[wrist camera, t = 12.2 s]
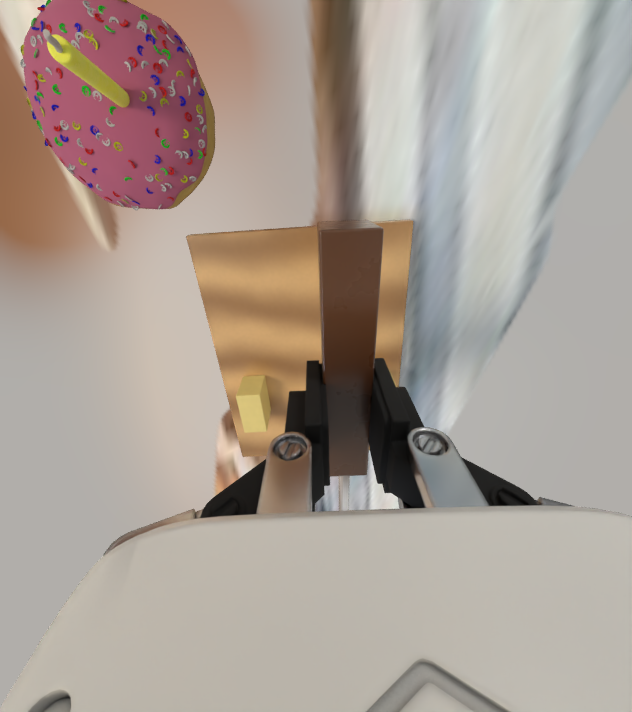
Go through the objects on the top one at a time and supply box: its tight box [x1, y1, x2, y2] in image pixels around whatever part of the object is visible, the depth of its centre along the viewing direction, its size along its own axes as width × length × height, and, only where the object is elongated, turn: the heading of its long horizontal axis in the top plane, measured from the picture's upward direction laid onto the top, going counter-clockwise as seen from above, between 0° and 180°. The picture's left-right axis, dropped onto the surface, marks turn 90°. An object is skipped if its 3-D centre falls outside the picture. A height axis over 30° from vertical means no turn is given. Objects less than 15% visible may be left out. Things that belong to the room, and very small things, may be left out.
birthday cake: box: [20, 0, 215, 210], centre depth 13 cm, size 9×8×12 cm
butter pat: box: [236, 375, 271, 433], centre depth 26 cm, size 4×2×3 cm, turn 4°
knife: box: [317, 220, 384, 511], centre depth 14 cm, size 20×2×3 cm, turn 2°
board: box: [186, 220, 413, 457], centre depth 26 cm, size 22×16×1 cm
